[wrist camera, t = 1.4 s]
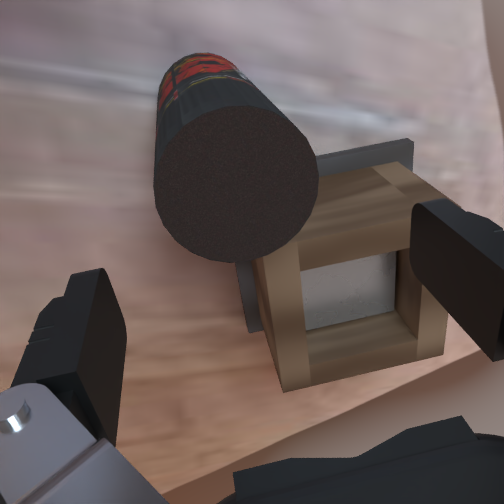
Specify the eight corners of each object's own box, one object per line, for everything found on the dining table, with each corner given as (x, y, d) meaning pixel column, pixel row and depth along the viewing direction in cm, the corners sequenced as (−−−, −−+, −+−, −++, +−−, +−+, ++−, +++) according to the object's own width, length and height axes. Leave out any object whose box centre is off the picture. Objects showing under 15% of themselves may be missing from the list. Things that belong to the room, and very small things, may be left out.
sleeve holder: (218, 175, 31) (236, 234, 23) (407, 138, 32) (483, 183, 24) (247, 325, 38) (268, 408, 31) (400, 291, 39) (457, 363, 32)
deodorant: (264, 74, 28) (347, 141, 15) (230, 159, 31) (278, 278, 18) (174, 36, 26) (185, 76, 14) (146, 130, 29) (132, 239, 16)
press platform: (288, 241, 29) (292, 249, 28) (390, 220, 29) (397, 226, 29) (297, 322, 33) (301, 331, 32) (388, 302, 33) (394, 310, 32)
